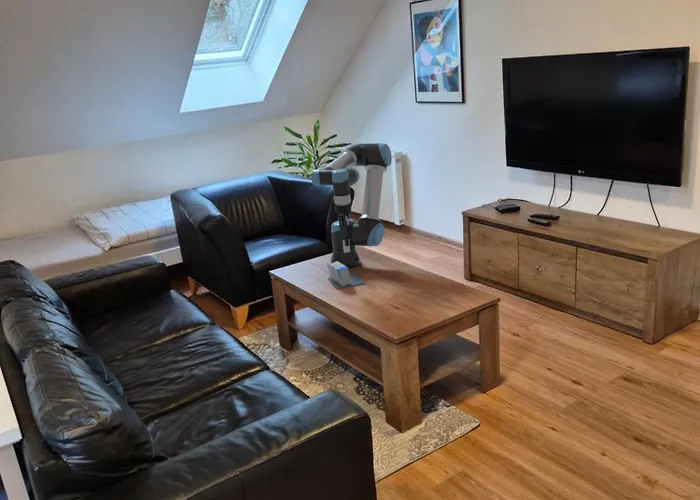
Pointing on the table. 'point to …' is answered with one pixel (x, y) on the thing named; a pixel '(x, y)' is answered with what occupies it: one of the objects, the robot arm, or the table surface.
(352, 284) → the mat
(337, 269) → the ink box
